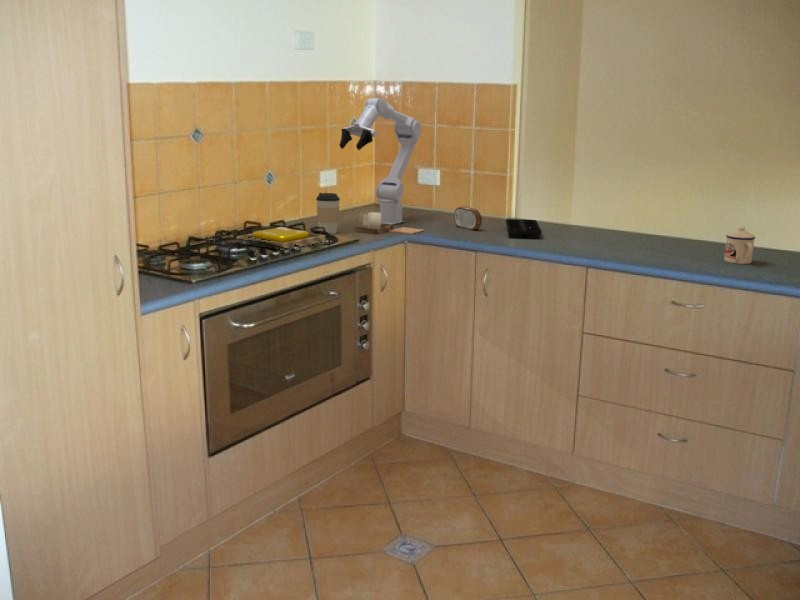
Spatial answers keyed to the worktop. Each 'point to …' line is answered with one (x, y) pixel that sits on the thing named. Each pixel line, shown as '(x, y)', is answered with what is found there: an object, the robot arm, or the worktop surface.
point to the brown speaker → (468, 218)
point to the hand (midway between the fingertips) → (349, 147)
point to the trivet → (406, 230)
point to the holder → (375, 231)
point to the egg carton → (523, 229)
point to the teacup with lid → (739, 246)
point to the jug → (372, 220)
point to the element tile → (281, 234)
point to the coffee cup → (328, 211)
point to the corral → (303, 242)
